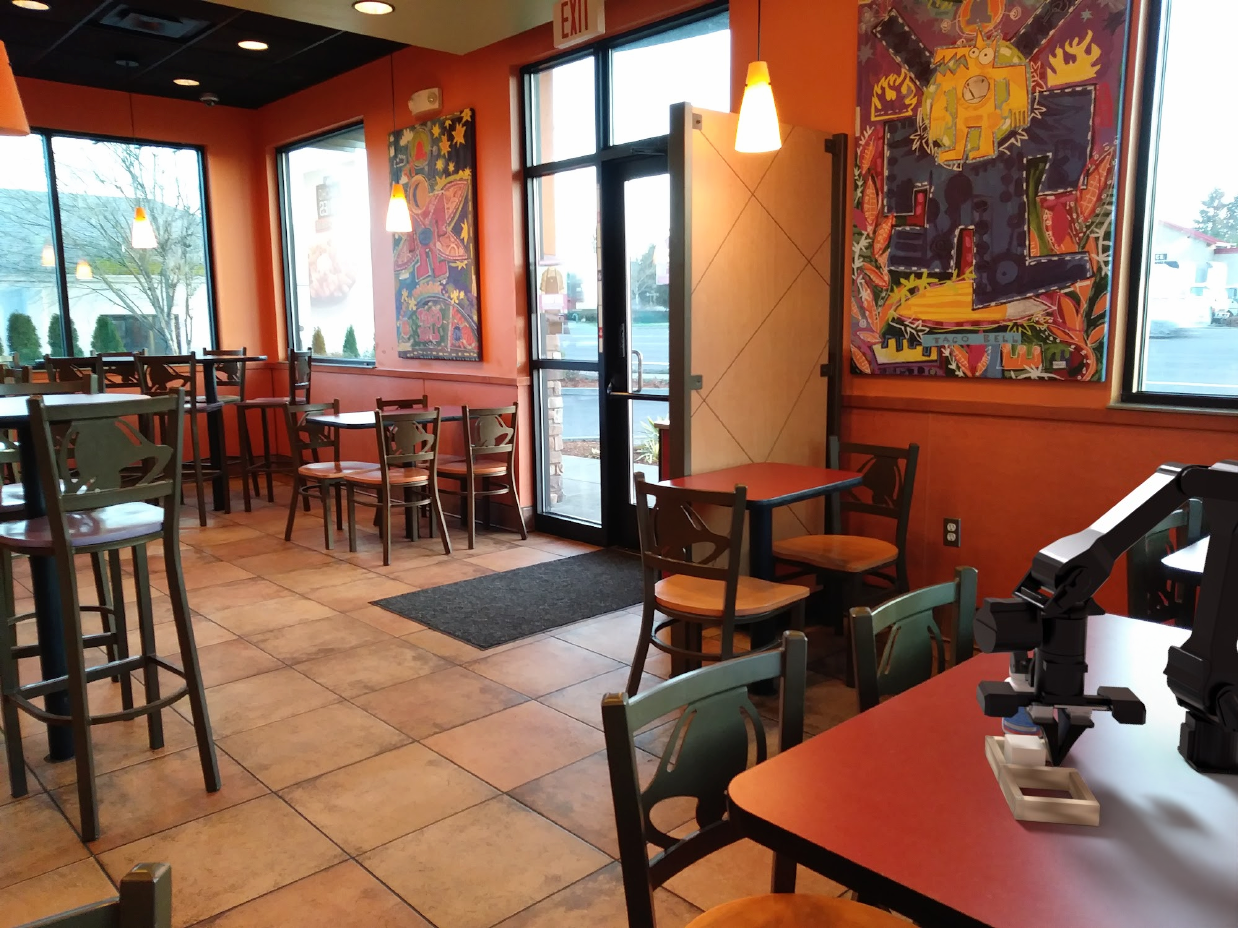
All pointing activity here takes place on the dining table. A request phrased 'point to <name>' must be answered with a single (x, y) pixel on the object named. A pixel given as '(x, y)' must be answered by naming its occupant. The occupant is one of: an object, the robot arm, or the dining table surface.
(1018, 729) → the pill bottle
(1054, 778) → the caddy
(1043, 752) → the cream block
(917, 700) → the dining table surface
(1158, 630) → the dining table surface
